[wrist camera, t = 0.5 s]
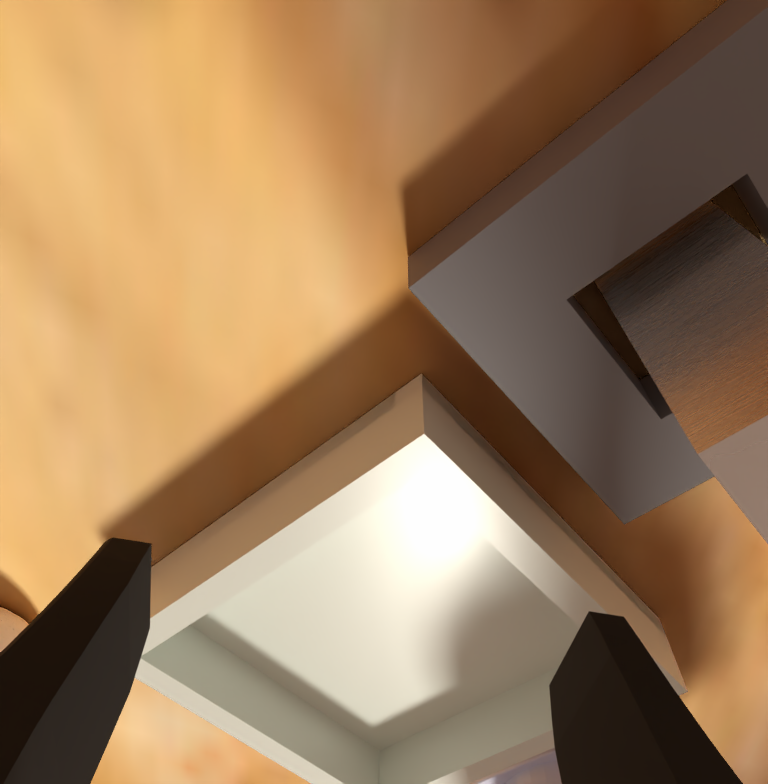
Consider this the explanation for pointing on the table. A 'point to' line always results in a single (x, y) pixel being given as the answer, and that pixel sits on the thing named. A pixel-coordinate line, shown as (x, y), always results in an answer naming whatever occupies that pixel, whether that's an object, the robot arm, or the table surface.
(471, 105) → the table surface
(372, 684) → the tray
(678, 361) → the pin
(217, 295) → the table surface
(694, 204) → the collar
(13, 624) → the garlic bulb
